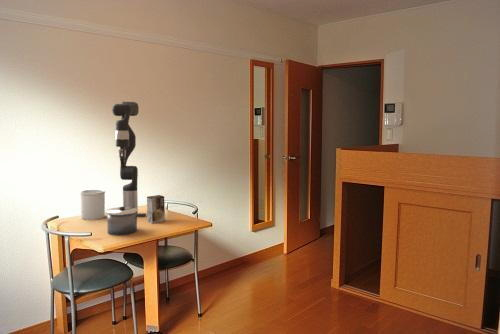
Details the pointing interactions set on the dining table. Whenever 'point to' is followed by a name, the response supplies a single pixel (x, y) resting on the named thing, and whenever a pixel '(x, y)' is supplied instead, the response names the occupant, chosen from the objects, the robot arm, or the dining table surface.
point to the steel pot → (123, 223)
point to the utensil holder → (92, 204)
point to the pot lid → (122, 211)
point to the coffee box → (155, 209)
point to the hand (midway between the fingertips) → (122, 167)
